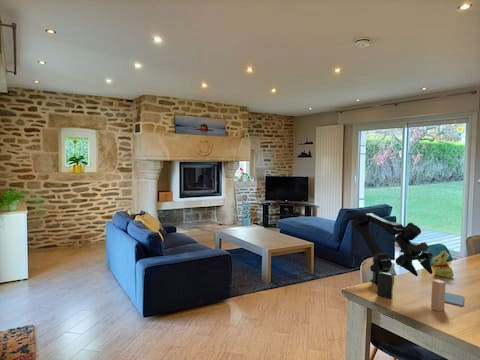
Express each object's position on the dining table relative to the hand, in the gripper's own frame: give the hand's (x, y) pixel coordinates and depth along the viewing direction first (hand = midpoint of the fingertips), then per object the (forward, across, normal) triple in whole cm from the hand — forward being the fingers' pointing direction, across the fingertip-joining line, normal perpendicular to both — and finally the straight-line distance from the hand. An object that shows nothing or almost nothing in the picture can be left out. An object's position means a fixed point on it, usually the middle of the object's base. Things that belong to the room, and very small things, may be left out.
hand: (424, 274), depth 152 cm
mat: (+11, +17, +8) cm, 21 cm away
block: (+14, 0, +4) cm, 15 cm away
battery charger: (+1, -11, +18) cm, 21 cm away
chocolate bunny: (-7, +43, +26) cm, 51 cm away
